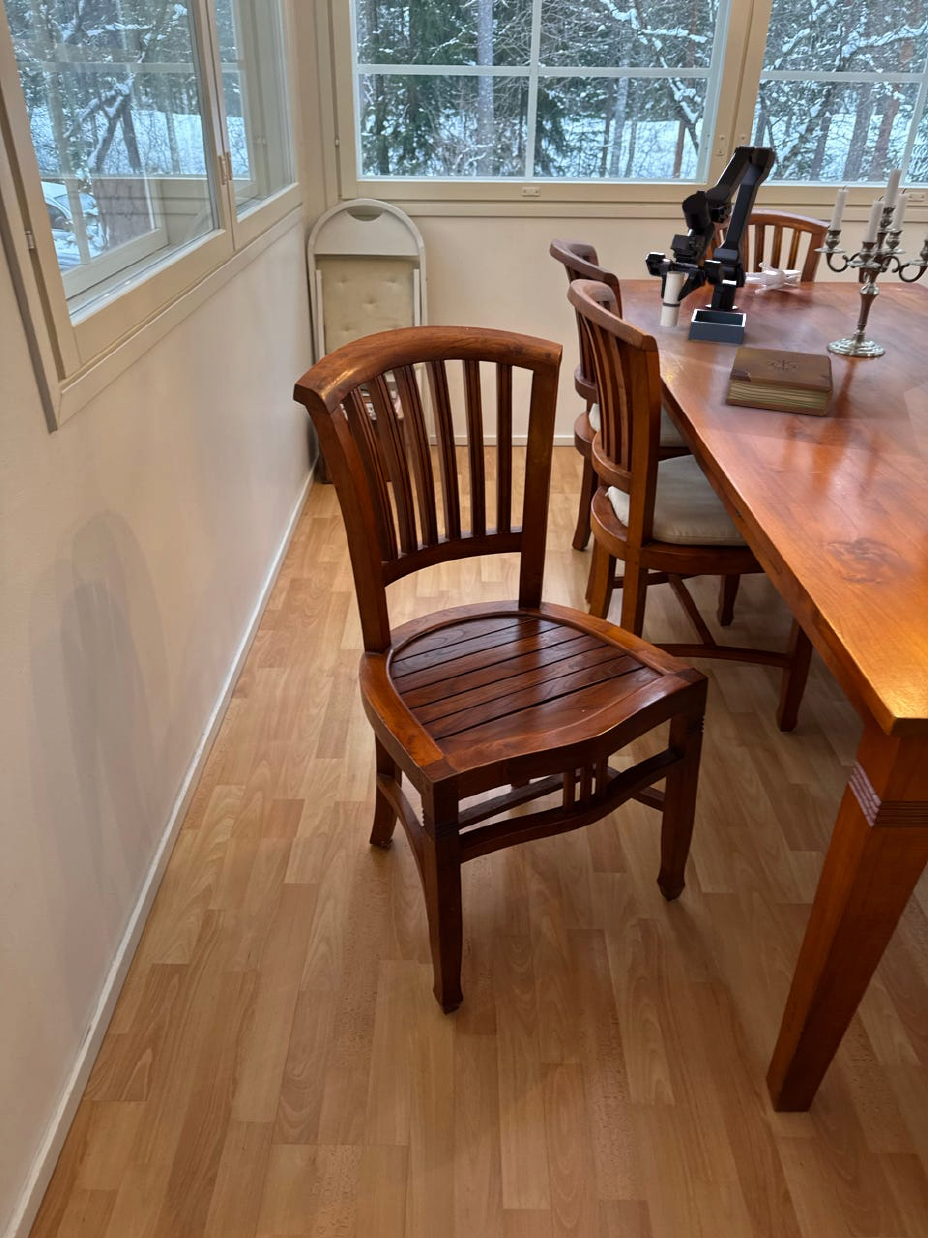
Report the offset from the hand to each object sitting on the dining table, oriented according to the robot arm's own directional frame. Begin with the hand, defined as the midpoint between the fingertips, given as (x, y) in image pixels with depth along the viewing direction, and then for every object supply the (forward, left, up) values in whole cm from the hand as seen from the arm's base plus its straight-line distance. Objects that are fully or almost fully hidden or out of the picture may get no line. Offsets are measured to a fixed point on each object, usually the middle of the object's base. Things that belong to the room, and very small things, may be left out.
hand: (669, 298), depth 208 cm
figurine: (-64, -11, -8) cm, 66 cm away
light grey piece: (-1, 0, -6) cm, 6 cm away
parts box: (-7, +10, -8) cm, 15 cm away
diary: (+20, +42, -8) cm, 47 cm away
